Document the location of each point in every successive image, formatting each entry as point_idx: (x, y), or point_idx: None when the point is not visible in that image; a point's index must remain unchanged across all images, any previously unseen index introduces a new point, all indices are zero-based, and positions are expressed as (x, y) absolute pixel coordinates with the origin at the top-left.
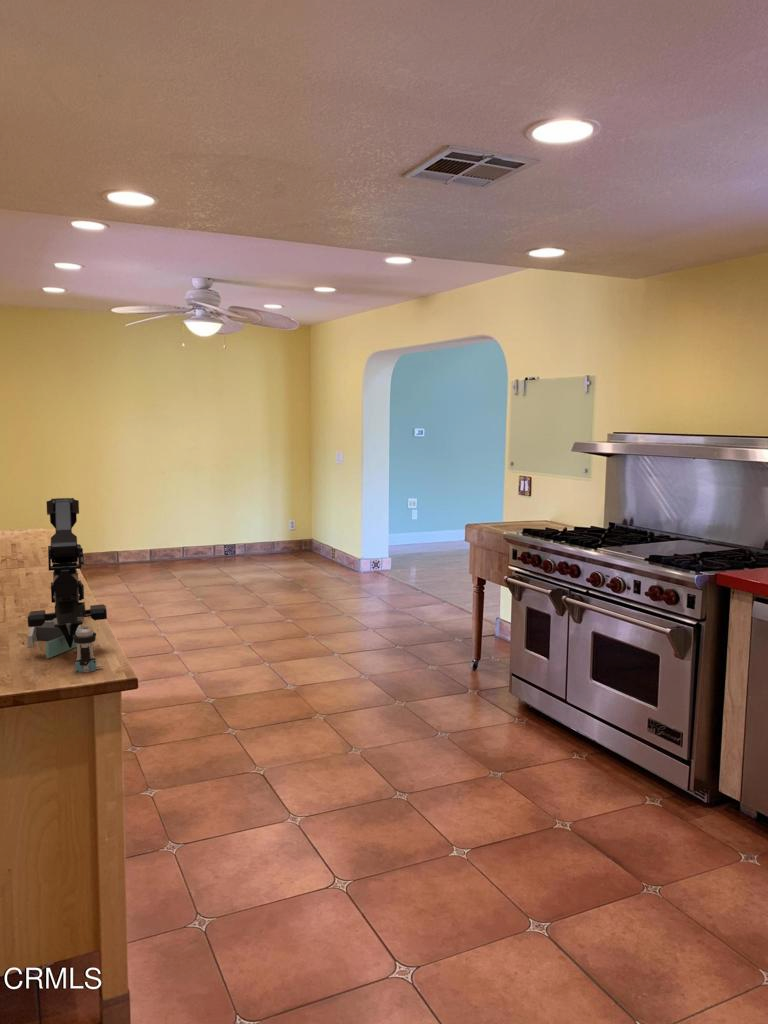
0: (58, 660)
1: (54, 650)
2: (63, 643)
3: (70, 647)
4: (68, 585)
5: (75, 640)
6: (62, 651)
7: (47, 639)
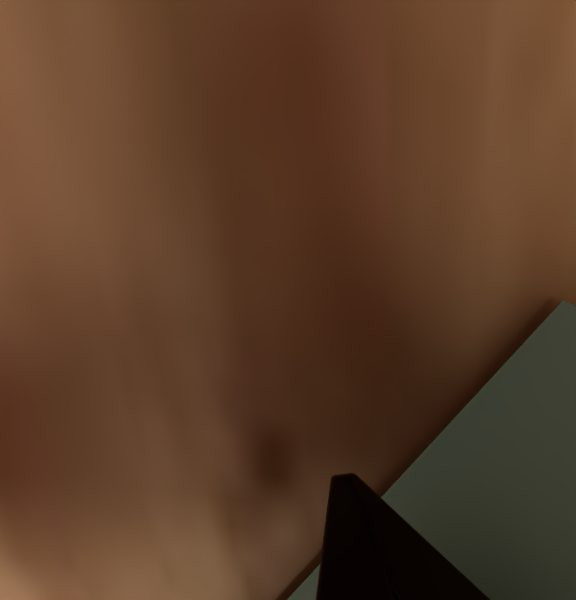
0: (455, 225)
1: (535, 410)
2: None
3: (341, 474)
4: None
5: None
6: (417, 472)
7: None
